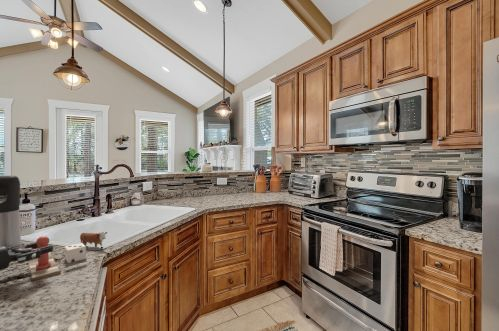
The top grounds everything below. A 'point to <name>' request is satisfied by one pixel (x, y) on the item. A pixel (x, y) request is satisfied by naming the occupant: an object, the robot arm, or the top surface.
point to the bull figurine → (92, 238)
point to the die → (75, 252)
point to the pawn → (44, 259)
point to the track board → (43, 273)
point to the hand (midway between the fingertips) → (47, 246)
